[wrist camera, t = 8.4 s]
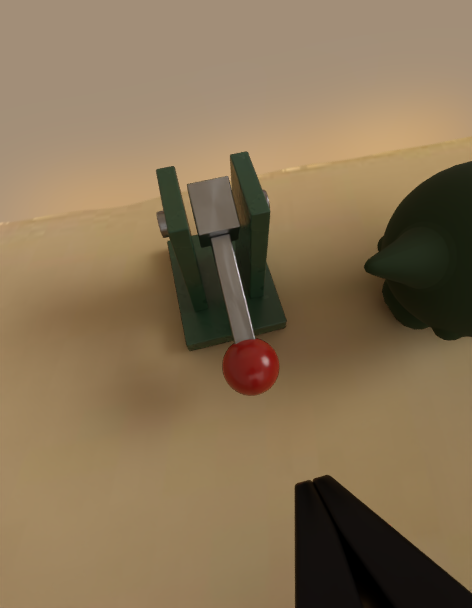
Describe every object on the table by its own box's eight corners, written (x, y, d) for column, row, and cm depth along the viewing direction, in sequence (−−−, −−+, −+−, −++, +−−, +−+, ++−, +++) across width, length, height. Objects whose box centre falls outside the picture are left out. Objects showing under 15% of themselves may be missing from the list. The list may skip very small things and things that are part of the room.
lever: (279, 383, 19) (291, 391, 16) (228, 396, 19) (230, 407, 16) (233, 196, 20) (235, 170, 17) (184, 206, 20) (178, 182, 17)
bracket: (285, 328, 23) (307, 244, 15) (189, 351, 23) (152, 278, 14) (252, 231, 27) (254, 120, 19) (170, 249, 27) (132, 144, 18)
